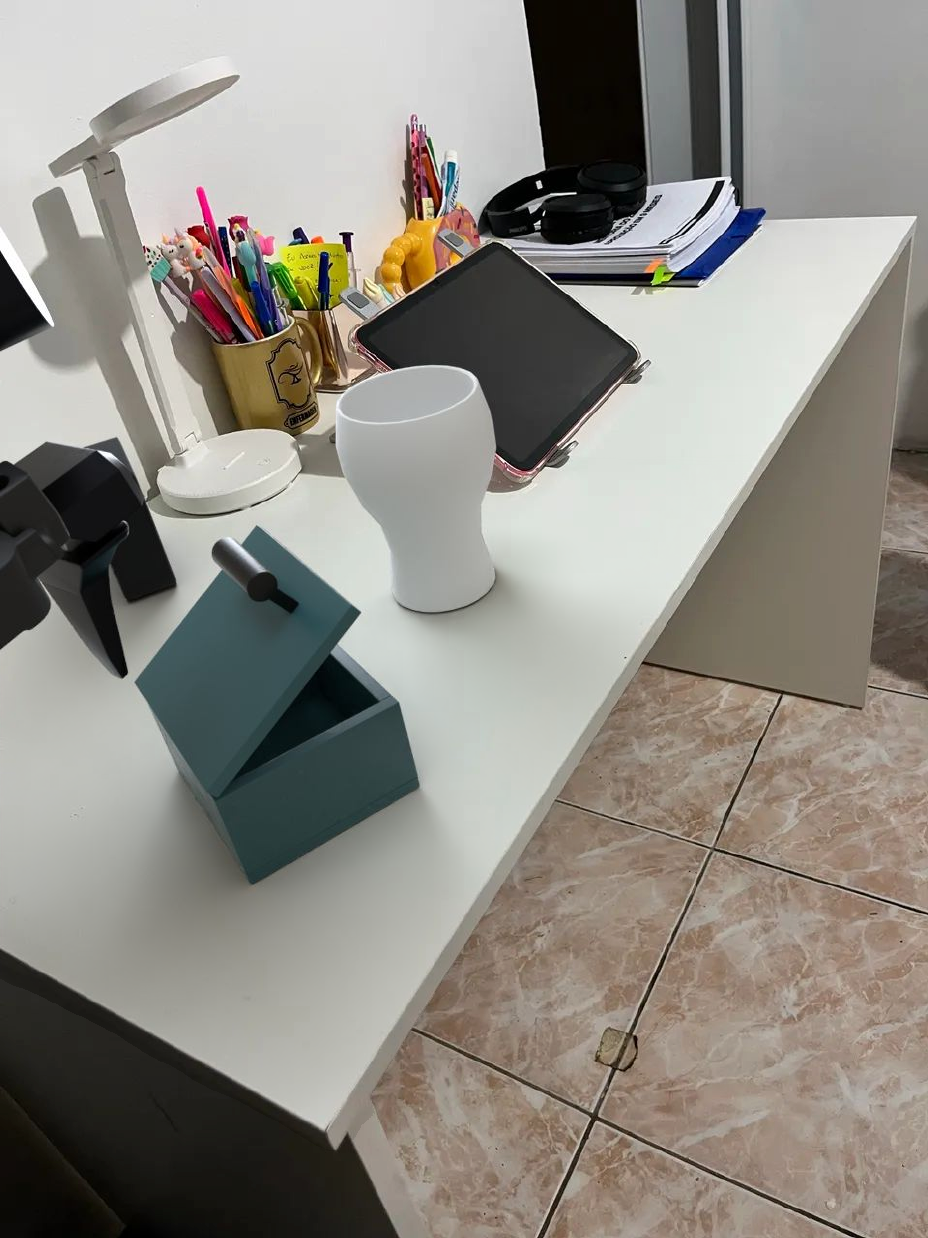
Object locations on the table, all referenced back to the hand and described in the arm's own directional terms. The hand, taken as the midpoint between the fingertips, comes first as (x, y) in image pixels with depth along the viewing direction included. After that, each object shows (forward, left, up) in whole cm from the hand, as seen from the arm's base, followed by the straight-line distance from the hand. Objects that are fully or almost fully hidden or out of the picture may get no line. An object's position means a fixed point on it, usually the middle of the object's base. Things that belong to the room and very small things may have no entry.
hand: (43, 744), depth 43 cm
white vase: (+27, +17, -12) cm, 34 cm away
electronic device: (+8, +36, -12) cm, 39 cm away
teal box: (+10, +4, -12) cm, 16 cm away
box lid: (+10, +4, -2) cm, 11 cm away
